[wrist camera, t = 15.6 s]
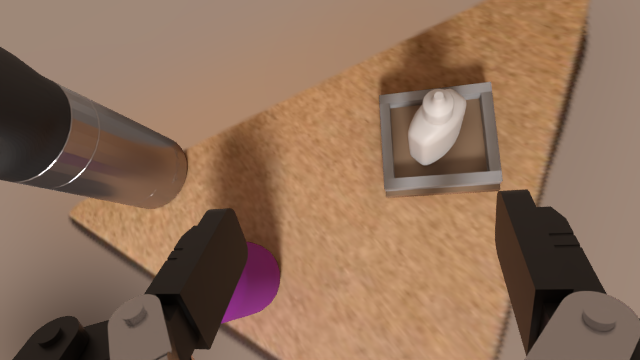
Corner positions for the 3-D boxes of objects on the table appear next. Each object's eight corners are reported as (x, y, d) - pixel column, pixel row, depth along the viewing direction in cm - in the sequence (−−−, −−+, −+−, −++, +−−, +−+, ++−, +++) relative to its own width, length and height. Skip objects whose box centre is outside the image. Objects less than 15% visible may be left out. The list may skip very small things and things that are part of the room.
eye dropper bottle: (401, 132, 43) (393, 84, 32) (453, 113, 42) (464, 56, 31) (415, 170, 42) (412, 134, 30) (470, 151, 41) (487, 107, 29)
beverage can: (264, 326, 44) (208, 348, 32) (207, 294, 46) (136, 304, 35) (294, 260, 44) (249, 259, 33) (237, 231, 47) (176, 221, 35)
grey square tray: (387, 197, 43) (384, 193, 41) (381, 100, 45) (378, 90, 43) (498, 191, 41) (503, 186, 38) (486, 88, 43) (490, 77, 40)
